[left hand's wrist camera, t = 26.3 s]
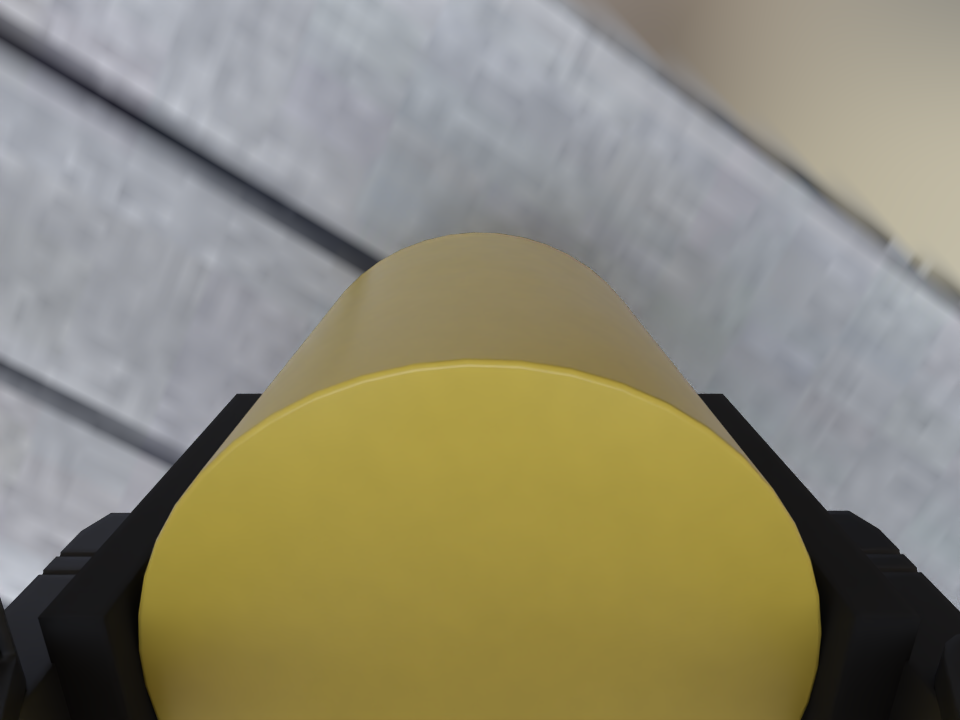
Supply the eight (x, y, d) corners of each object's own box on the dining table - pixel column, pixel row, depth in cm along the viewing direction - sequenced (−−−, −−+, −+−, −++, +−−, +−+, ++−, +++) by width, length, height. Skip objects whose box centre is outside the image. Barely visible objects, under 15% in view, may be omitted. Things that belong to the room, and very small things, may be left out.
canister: (239, 323, 16) (-14, 535, 8) (578, 167, 14) (701, 225, 6) (402, 592, 18) (342, 957, 10) (698, 481, 17) (890, 797, 9)
